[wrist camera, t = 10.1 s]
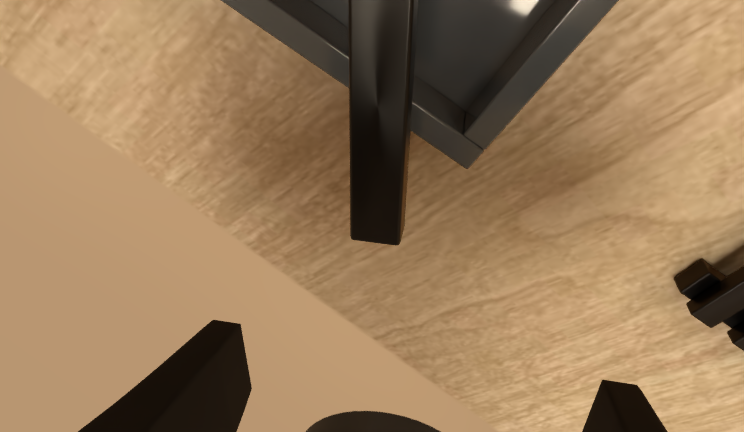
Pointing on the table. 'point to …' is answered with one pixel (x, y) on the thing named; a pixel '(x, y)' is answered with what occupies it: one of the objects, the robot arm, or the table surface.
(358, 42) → the pan
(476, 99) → the dark gray serving tray
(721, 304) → the drying rack
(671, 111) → the table surface
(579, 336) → the table surface
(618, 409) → the robot arm
